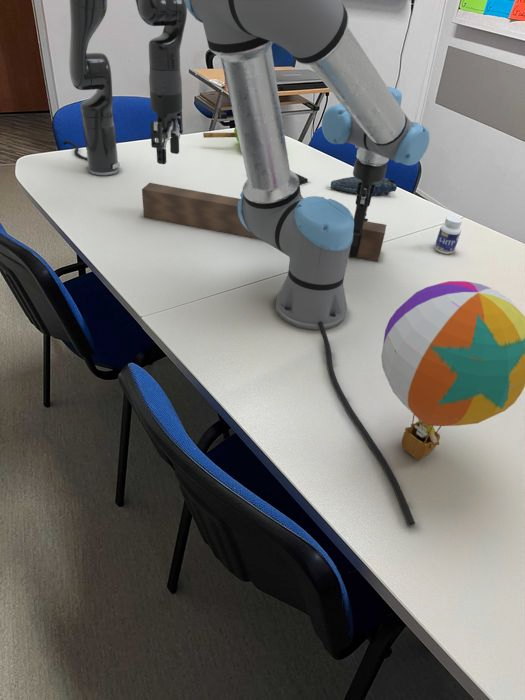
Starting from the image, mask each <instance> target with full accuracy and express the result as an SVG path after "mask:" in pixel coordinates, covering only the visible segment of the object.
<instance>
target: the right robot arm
mask: <svg viewBox="0 0 525 700" xmlns="http://www.w3.org/2000/svg"><path fill="white" fill-rule="evenodd" d="M184 1H185V4H186V6H187V11H188V13H190V14H191V15H192V16H193V18H194V19H195V20H196V21H197V22H200V23H202V26H203V30H204V34H205V38H206V41H207V47H208V49H209V51H210V52H211V53H213V54H214V55H216V56H217V57H218V58H220V61H221V66H222V71H223V75H224V80H225V83H226V88H227V93H228V97H229V100H230V101H229V102H230V105H231V106H230V107H231V111H232V115H233V120H234V124H235V127H236V129H237V134H238V138H239V143H240V145H239V148H240V147H241V148H240V151H241V156H242V160H243V165H244V170H245V173H246V178H247V179H246V180H245V181H244V183H243V186H242V191H241V192H240V195H239V197H240V199H241V200H239V201H238V215H239V218H240V221H241V223H242V224H243V226H244V227H245V228H246V229H247V230H248V231H249V232H251V233H252V234H253V235H254V236H256V237H257V238H260V239H259V240H262V241H263V242H265V243H267V244H268V245H270V246H271V247H273V248H275V249H276V250H278V251H280V252H281V253H283V254H285V255H286V256H287V257H289V262H288V263H289V264H288V270H287V271H288V272H287V275H286V278H285V279H284V282H283V283H282V285H281V287H280V290H279V291H278V294H277V296H276V301H275V311H276V313H277V315H278V316H279V317H280V318H281V319H282V320H283V321H284V322H286V323H287V324H289V325H291V326H293V327H296V328H300V329H304V330H310V331H320V334H321V337H322V341H323V344H324V348H325V354H326V365H327V370H328V374H329V377H330V380H331V382H332V385H333V387H334V390H335V391H336V394H337V395H338V398H339V399H340V401H341V403H342V404H343V407H344V408H345V410H346V411H347V413H348V415H349V416H350V418H351V419H352V421H353V422H354V424H355V425H356V427H357V428H358V431H360V433H361V434H362V437H363V438H364V439H365V441H366V442H367V444H368V446H369V447H370V449H371V451H372V452H373V453H374V455H375V457H376V458H377V460H378V462H379V463H380V465H381V466H382V468H383V470H384V472H385V474H386V475H387V477H388V479H389V481H390V483H391V485H392V488H393V490H394V492H395V494H396V497H397V499H398V502H399V505H400V507H401V509H402V512H403V515H404V517H405V520H406V522H407V524H408V526H415V524H416V522H415V519H414V517H413V514H412V512H411V510H410V507H409V504H408V502H407V500H406V497H405V495H404V492H403V490H402V488H401V486H400V484H399V481H398V479H397V477H396V475H395V474H394V471H393V470H392V469H391V466H390V465H389V463H388V462H387V459H386V458H385V456H384V455H383V454H382V452H381V450H380V449H379V447H378V446H377V444H376V443H375V441H374V439H373V438H372V436H371V434H370V433H369V432H368V430H367V429H366V427H365V426H364V424H363V423H362V422H361V420H360V418H359V417H358V415H357V414H356V413H355V411H354V410H353V408H352V406H351V404H350V403H349V400H348V398H347V397H346V395H345V393H344V392H343V389H342V388H341V385H340V384H339V381H338V379H337V375H336V373H335V370H334V365H333V355H332V349H331V344H330V341H329V337H328V335H327V331H326V330H329V329H333V328H336V327H337V326H339V325H340V324H342V323H343V322H344V320H345V318H346V315H347V310H348V309H347V308H348V307H347V306H348V305H347V297H346V292H345V286H344V280H345V275H346V271H347V267H348V262H349V257H352V256H354V257H353V258H357V255H358V250H359V245H360V241H361V236H362V228H363V224H364V221H368V220H369V219H368V218H366V217H367V214H368V213H367V211H368V207H370V205H371V201H372V197H373V196H374V195H373V192H374V188H375V184H373V182H380V181H382V180H383V179H384V178H386V173H387V169H388V164H387V163H388V162H389V160H391V161H393V162H394V163H396V164H402V165H405V166H414V165H416V164H417V163H419V162H420V161H421V160H422V159H423V157H424V155H425V154H426V152H427V150H428V147H429V144H430V131H429V130H428V128H427V127H426V126H424V125H422V124H420V123H419V122H414V121H411V119H409V118H408V116H407V114H406V113H405V112H404V110H403V108H402V107H401V105H402V99H403V94H402V92H401V90H400V89H398V88H395V87H392V86H387V84H386V83H385V81H384V80H383V78H382V76H381V75H380V73H379V72H378V70H377V69H376V67H375V66H374V64H373V63H372V61H371V59H370V58H369V56H368V55H367V53H366V52H365V50H364V49H363V48H362V46H361V44H360V43H359V41H358V40H357V38H356V37H355V35H354V34H353V32H352V31H351V29H350V28H349V13H348V11H347V10H348V9H346V6H345V5H344V3H343V2H342V0H184ZM273 44H275V45H277V46H279V47H281V48H283V49H284V50H286V51H287V52H288V53H289V54H290V55H291V56H292V57H293V59H294V60H295V61H296V62H297V63H299V64H302V65H307V66H308V65H309V66H310V68H311V69H312V70H313V71H314V73H315V74H316V76H318V78H319V79H320V80H321V81H322V82H323V84H325V86H326V87H327V88H328V90H329V91H330V92H331V93H332V95H333V96H334V97H335V98H336V99H337V101H338V102H339V103H338V104H335V105H331V106H329V107H328V108H327V109H326V110H325V112H324V113H323V116H322V120H321V130H322V131H321V132H322V134H323V136H324V138H325V140H327V142H328V143H330V144H333V145H344V144H346V143H348V144H351V145H354V146H355V148H356V149H357V150H356V155H355V157H356V159H355V160H354V164H353V170H352V175H353V176H352V177H355V178H357V179H359V180H361V181H362V182H359V185H358V188H357V193H356V199H355V212H354V216H353V214H352V212H351V211H350V209H348V208H347V207H346V206H345V205H344V204H343V203H341V202H339V201H337V200H335V199H333V198H328V199H327V198H325V197H324V196H316V195H315V196H313V195H311V196H307V197H303V196H302V191H301V184H299V178H298V176H297V175H296V174H297V173H296V172H294V171H293V170H291V169H290V163H289V162H290V161H289V158H288V157H289V156H288V150H287V149H288V148H287V143H286V137H285V136H286V135H285V128H284V123H283V117H282V115H283V114H282V109H281V103H280V98H279V97H280V95H279V90H278V83H277V76H276V69H275V63H274V57H273V49H272V45H273ZM239 143H238V144H239ZM290 170H291V171H290ZM295 173H296V174H295ZM368 222H369V221H368ZM257 238H256V239H257Z"/></svg>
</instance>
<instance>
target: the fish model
mask: <svg viewBox="0 0 525 700" xmlns="http://www.w3.org/2000/svg"><path fill="white" fill-rule="evenodd" d="M359 182H362V181H361V180H359V179H357V178H355V177H354V176H349V177H344V178H343V177H342V178H337V179H334V180H331V182H330V188H331V189H334V190H337V191H341V192H346V193H351V194H357V188H358V185H359ZM395 183H396V180H394V179H390V178H387V177H385V178H384V179H383V180H382V181H380V182H373V184H375V188H374V192H373V195H372V196H374V195H375V196H380V195H382V194H384V195H387V196H388V195H389V194H390V193H392V192H396V191H397V188H398V187H397V185H396V184H395Z"/></svg>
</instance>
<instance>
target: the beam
mask: <svg viewBox="0 0 525 700" xmlns="http://www.w3.org/2000/svg"><path fill="white" fill-rule="evenodd" d="M141 197H142V209H143V210H142V211H143V218H147V219H150V220H151V219H152V220H157V221H161V222H162V221H163V222H167V223H173V224H179V225H184V226H188V227H189V226H190V227H194V228H199V229H204V230H210V231H216V232H220V233H225V234H230V235H236V236H241V237H247V238H253V239H257V240H261V239H260V238H257V237H256V236H254V235H253V234H252V233H251V232H249V231H248V230H247V229H246V228H245V227H244V226H243V224H242V223H241V221H240V218H239V215H238V201H239V200H241V198H239V197H238V198H237V197H232V196H226V195H222V194H221V195H220V194H214V193H210V192H204V191H199V190H194V189H187V188H181V187H177V186H176V187H175V186H170V185H165V184H159V183H155V182H154V183H153V182H149V183H147V184H146V185H145V186H143V188H141ZM386 231H387V224H385V223H379V222H373V221H364V224H363V228H362V236H361V241H360V245H359V250H358V255H357V257H356V258H358V259H363V260H369V261H374V262H379V260H380V255H381V251H382V247H383V243H384V238H385V235H386ZM352 257H353V258H355V257H354V256H351V258H352Z"/></svg>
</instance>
